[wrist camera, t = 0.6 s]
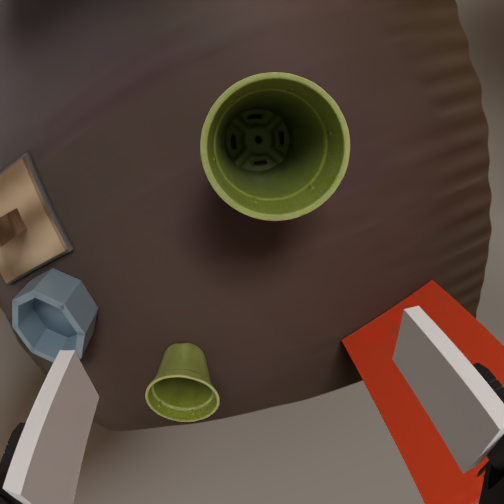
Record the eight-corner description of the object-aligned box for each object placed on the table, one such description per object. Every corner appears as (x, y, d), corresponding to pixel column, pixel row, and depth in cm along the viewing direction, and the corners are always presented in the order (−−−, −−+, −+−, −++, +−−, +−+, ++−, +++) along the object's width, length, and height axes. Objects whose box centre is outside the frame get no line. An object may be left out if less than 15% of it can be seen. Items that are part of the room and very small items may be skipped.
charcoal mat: (-31, 200, 30) (-33, 201, 30) (28, 151, 30) (26, 151, 29) (10, 283, 36) (8, 284, 35) (73, 248, 35) (72, 250, 35)
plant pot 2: (243, 211, 36) (255, 248, 26) (183, 126, 32) (169, 127, 21) (328, 157, 35) (373, 172, 24) (275, 69, 30) (302, 46, 20)
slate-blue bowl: (19, 285, 36) (-1, 307, 31) (69, 259, 36) (50, 281, 30) (58, 343, 41) (44, 369, 35) (110, 325, 40) (99, 353, 35)
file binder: (439, 311, 47) (551, 441, 17) (356, 366, 49) (437, 527, 19) (431, 278, 44) (568, 417, 14) (340, 338, 46) (434, 524, 16)
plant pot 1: (175, 320, 41) (169, 364, 33) (230, 352, 44) (234, 396, 36) (142, 359, 43) (132, 402, 35) (193, 387, 46) (192, 429, 38)
